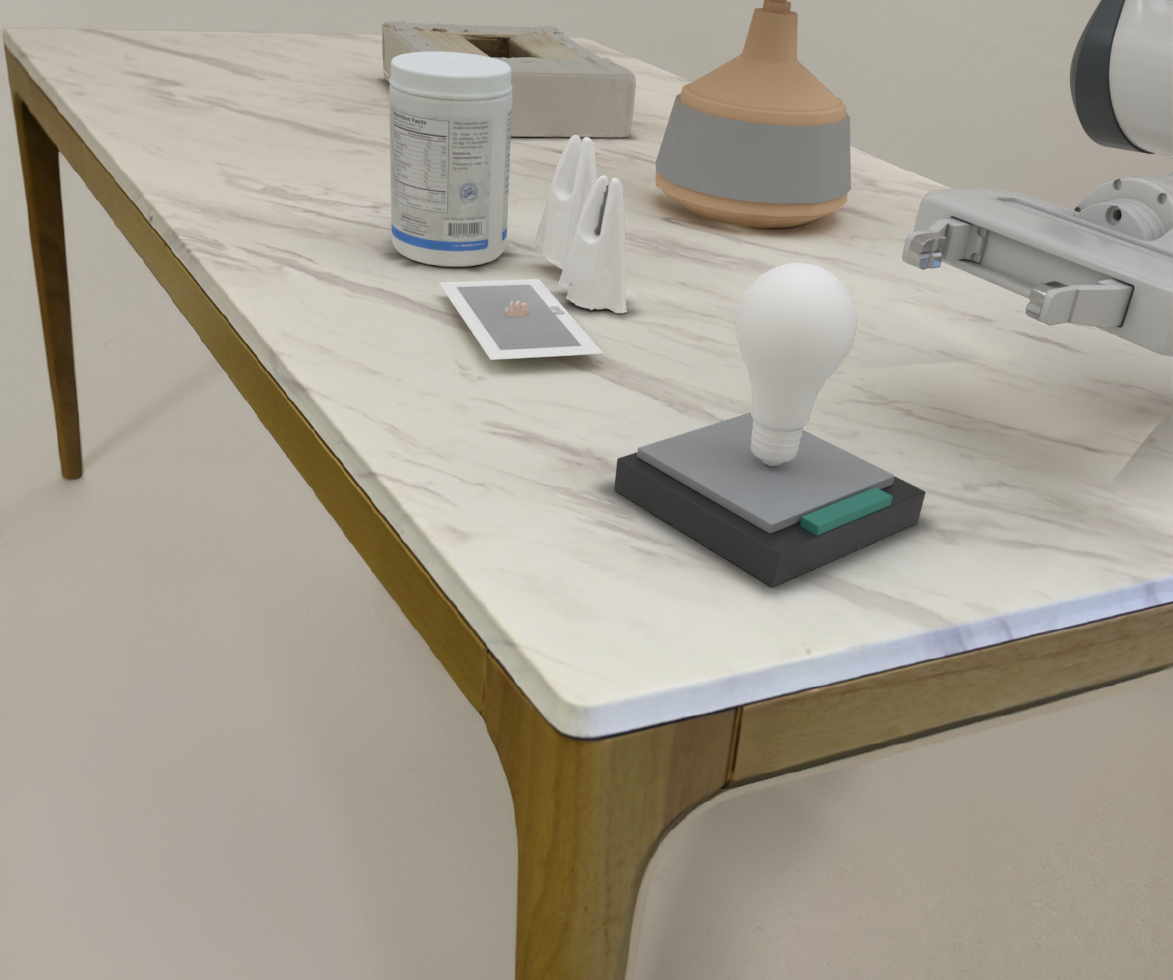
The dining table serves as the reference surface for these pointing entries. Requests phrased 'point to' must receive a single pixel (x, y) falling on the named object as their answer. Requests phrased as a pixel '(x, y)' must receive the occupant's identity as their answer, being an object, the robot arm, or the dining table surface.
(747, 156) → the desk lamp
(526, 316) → the touchpad
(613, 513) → the dining table surface
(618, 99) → the box
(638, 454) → the scale
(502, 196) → the supplement tub
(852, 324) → the lightbulb
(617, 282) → the shaker set
